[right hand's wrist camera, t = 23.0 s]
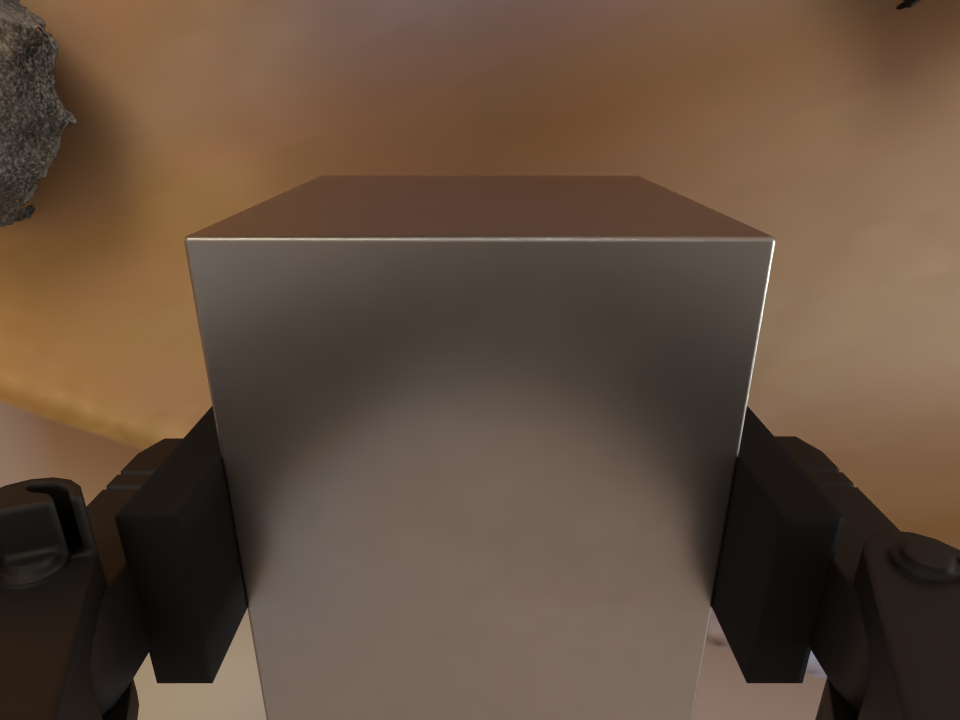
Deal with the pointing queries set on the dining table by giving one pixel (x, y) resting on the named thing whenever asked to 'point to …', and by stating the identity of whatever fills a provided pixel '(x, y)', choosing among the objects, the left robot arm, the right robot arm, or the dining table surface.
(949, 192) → the dining table surface
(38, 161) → the rock
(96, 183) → the dining table surface
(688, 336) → the block
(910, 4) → the tape measure
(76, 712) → the right robot arm
